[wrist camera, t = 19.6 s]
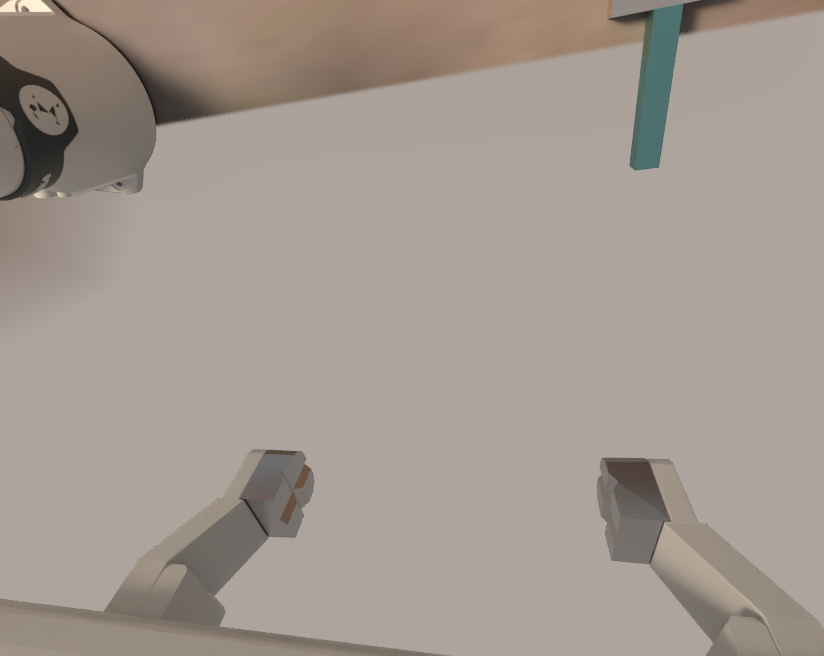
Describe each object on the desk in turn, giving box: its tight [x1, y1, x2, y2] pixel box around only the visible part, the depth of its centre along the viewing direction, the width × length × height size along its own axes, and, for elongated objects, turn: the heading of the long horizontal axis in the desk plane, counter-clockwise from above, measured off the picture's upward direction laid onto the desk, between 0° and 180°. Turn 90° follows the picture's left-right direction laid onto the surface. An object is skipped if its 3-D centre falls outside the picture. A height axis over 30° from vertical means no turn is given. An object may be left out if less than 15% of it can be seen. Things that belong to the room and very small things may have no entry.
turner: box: [607, 0, 699, 170], centre depth 33 cm, size 20×8×2 cm, turn 9°
